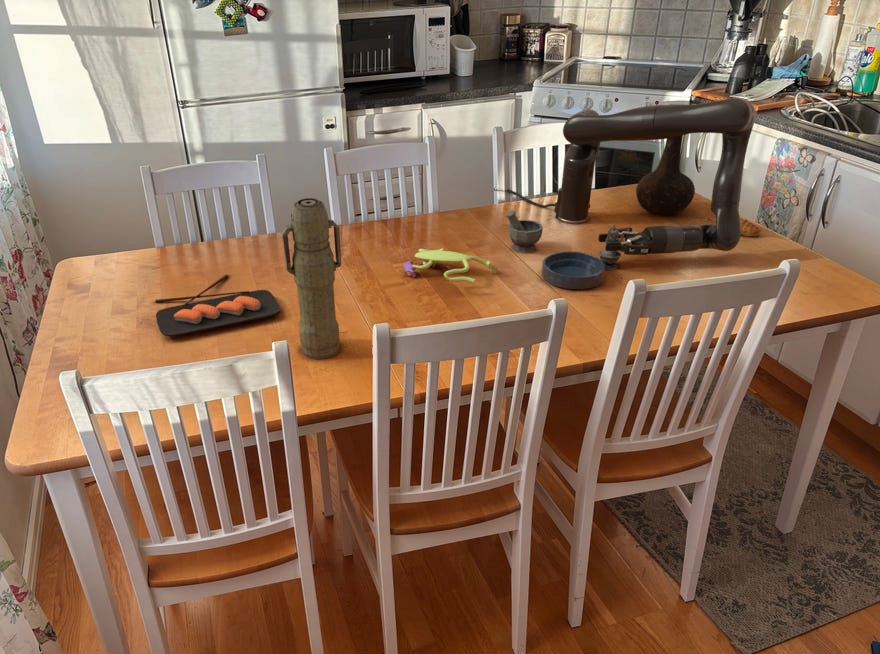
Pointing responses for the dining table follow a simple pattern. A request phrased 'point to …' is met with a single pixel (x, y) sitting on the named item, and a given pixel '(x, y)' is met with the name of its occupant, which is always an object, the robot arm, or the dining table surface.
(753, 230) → the pastry
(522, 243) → the mortar and pestle
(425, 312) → the dining table surface
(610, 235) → the salt shaker
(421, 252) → the figurine
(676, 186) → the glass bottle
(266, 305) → the sushi plate
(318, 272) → the thermos
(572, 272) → the bowl
